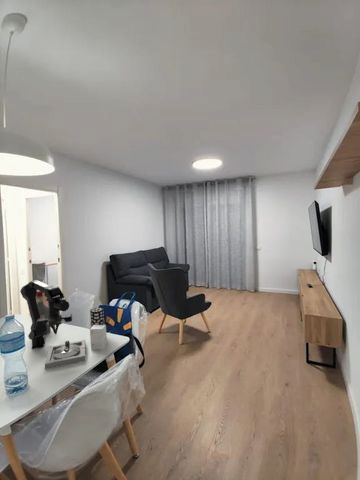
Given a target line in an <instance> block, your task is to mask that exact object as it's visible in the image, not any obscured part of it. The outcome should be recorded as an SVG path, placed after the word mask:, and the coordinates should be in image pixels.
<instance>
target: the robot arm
mask: <svg viewBox="0 0 360 480" xmlns="http://www.w3.org/2000/svg"><path fill="white" fill-rule="evenodd" d="M37 291H41V292H43V296H45V298H46V299H45V300H46V301H47V305H48V306H47V307H48V308H49V317H48V319H46V320H45V318H41V317H40V313H39V310H38V306H37V303H38V302H37ZM19 292H20V295H21V296H22V298H23V299H24V300H26V302H27V306H28V311H29V315H30V319H31V326H30V332H29V334H27V335H28V336H27V337H28V339H29V340H31V350H36V349H41V348H44V347H45V345H46V337H45V336H46V335H47V334H48V333H47V326H46V323H48V326H50V327H51V330H52V331H53V333H54V335H57V333H58V330H59V327H60V325H62V323H63V321H64V322H65V323H71V322H72V321H73V314H72V313H70V314H65V315H64V316H62V314H61V312H66V311H68V310H69V309H70V303H69V301H67V299H66V298H65V295H64V293H63V291H62V289H61V288H60V287H59V286H56V285H48V284H46V283H44V282H42V281H40V280H39V279H36V280H31V281H29V282H28V283H27V284H25V285H23V286H21V288H20V291H19ZM46 333H47V334H46Z"/></svg>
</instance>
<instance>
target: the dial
mask: <svg viewBox="0 0 360 480" xmlns="http://www.w3.org/2000/svg"><path fill="white" fill-rule="evenodd" d="M70 343H71V342H70V340H65V341H64V344H65V346H62V347H60V348H58V349H56V350H55V351H54V353H53V357H54V358H55V359H57V360H58V359H63V358H68V357H73V356H76V355H77V354H78V353H79V352H80V347H79V346H78V345H74V344H71V345H70Z"/></svg>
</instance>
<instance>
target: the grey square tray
mask: <svg viewBox="0 0 360 480" xmlns="http://www.w3.org/2000/svg"><path fill="white" fill-rule="evenodd" d="M69 343H70V345H71V344H74V345H78V346H79V347H80V352H79V353H78V354H77V355H76V356H73V357H68V358H63V359H58V360H57V359H55V358H54V357H53V353H54V351H55V350H56V349H58V348H60V347H62V346H65V343H61V344H55V345H51V346H49V349H48V352H47V355H46V359H45V360H44V361H45V362H44V370H49V369H54V368H59V367H63V366H67V365H73V364H77V363H83V362H85V361H86V347H87V346H86V339H82V340H77V341H71V342H69Z"/></svg>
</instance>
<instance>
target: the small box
mask: <svg viewBox="0 0 360 480" xmlns="http://www.w3.org/2000/svg"><path fill="white" fill-rule="evenodd" d="M89 337H90V338H89V339H90V350H92V351H93V350H104V349H106V347H107V345H108V337H107V325H106V324H104V325H93V326H92V327H91V326H90V329H89Z"/></svg>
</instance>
